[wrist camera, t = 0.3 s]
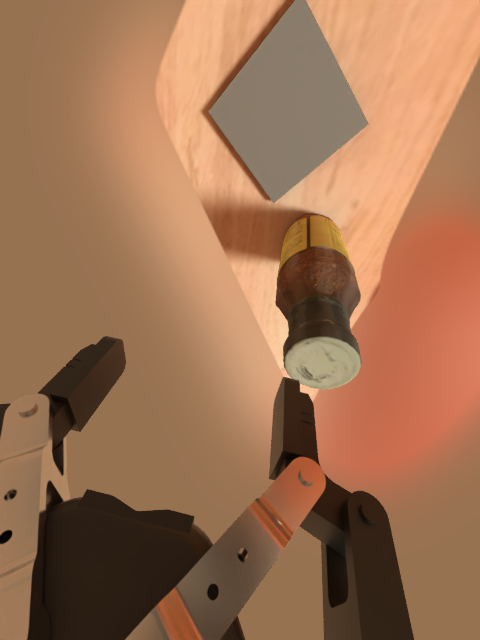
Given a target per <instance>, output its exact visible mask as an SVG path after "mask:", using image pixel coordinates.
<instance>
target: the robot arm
mask: <svg viewBox="0 0 480 640" xmlns="http://www.w3.org/2000/svg"><path fill="white" fill-rule="evenodd" d="M125 365H126V359H125V352H124V346H123V341H122V340H121V339H117V338H112V337H108V336H105V337H103V338H102V339H101V340H100V341H99V342H98V343H97V344H96V345H93V344H91V345H89V346H88V347H86V348H84V349H82V350H80V351H79V352H78V353H77V354H76V355H75V356H74V357H73V359H72V360H70V361H69V362H68V363H67V364H66V367H63V368H62V369H61V370H60V372H58V373H57V374H56V375H55V376H54V377H53V378H52V379H51V380H50V381H49V382H48V383H47V384H46V385H45V386H44V387H43V389H41V390H40V391H39V392H38V393H37V394H30V395H26V396H24V397H21V398H19V399H18V400H16V401H14V402H13V403H12V404H0V640H245V637H244V634H243V631H242V628H241V625H240V622H239V619H238V614H239V612H240V611H241V609H242V608H243V607H244V605H245V603H246V602H247V601H248V599H249V598H250V597H251V595H252V594H253V592H254V591H255V590H256V588H257V587H258V585H259V584H260V582H261V581H262V580H263V578H264V577H265V575H266V574H267V572H268V571H269V569H270V568H271V567H272V565H273V564H274V563H275V561H276V560H277V558H278V557H279V555H280V554H281V552H282V551H283V549H284V548H285V547H286V545H287V544H288V542H289V541H290V539H291V537H292V536H293V534H294V533H295V531H296V530H297V529H298V527H299V526H300V527H302V528H303V529H304V530H306V531H307V532H309V533H310V534H312V535H313V536H314V537H316V538H317V539H319V540H320V541H321V549H322V584H323V615H324V616H323V618H324V640H414V637H413V633H412V628H411V623H410V618H409V614H408V609H407V604H406V599H405V595H404V590H403V585H402V580H401V576H400V571H399V566H398V562H397V557H396V552H395V548H394V542H393V538H392V533H391V528H390V523H389V519H388V516H387V513H386V511H385V510H384V507H383V506H382V505H381V503H380V502H379V501H378V500H377V499H376V498H375V497H374V496H372V495H371V494H369V493H367V492H364V491H356V492H354V493H350V492H349V491H347V490H345V489H344V488H342V487H340V486H339V485H337V484H335V483H334V482H332V481H331V480H330V479H329V478H328V477H327V476H326V475H325V473H324V472H323V470H322V469H321V467H320V464H319V461H318V453H317V441H316V430H315V419H314V418H315V417H314V406H313V403H312V401H311V399H310V397H309V395H308V394H306V393H301V392H300V383H299V380H295V379H291V378H286V377H283V379H282V381H281V384H280V387H279V389H278V392H277V395H276V398H275V402H274V409H273V426H272V440H271V456H270V457H271V458H270V472H269V479H272V480H275V481H274V482H273V483H272V484H271V485H270V486H269V488H268V489H267V490H266V491H265V492H264V493H263V494H262V495H261V496H260V498H258V499H256V500H254V501H253V502H252V503H251V504H250V505H249V506H248V507H247V509H246V510H245V511H244V512H243V513H242V514H241V515H240V516H239V517H238V518H237V520H236V521H235V522H234V523H233V524H232V525H231V526H230V527H229V528H228V529H227V531H226V532H225V533H224V534H223V535H222V536H221V537H220V538H219V540H217V542H216V543H215V544H214V545H213V544H212V542H211V540H210V539H209V537H208V536H207V535H206V534H205V532H204V531H202V530H201V529H200V528H199V527H198V526H196V525H195V524H193V523H194V516H190V515H187V514H183V513H179V512H175V511H171V510H153V511H135V510H133V509H132V508H131V507H129V506H128V505H126V504H125V503H123V502H122V501H120V500H119V499H117V498H115V497H114V496H111V495H108V494H104V493H100V492H96V491H92V490H88V489H87V491H86V492H85V494H84V496H83V497H79V498H74V499H70V493H69V488H68V483H67V456H66V435H67V434H68V432H69V431H70V430H75V431H79V432H80V431H81V430H82V429H83V427H84V426H85V424H86V423H87V422H88V420H89V419H90V417H91V416H92V415H93V413H94V412H95V411H96V409H97V408H98V406H99V405H100V404H101V402H102V401H103V400H104V398H105V397H106V395H107V394H108V393H109V391H110V390H111V388H112V387H113V386H114V384H115V383H116V381H117V380H118V379H119V377H120V376H121V375H122V373H123V371H124V369H125Z"/></svg>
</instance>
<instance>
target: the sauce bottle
mask: <svg viewBox="0 0 480 640" xmlns="http://www.w3.org/2000/svg"><path fill="white" fill-rule="evenodd" d="M360 296H361V294H360V291H359V287H358V284H357V280H356V277H355V271H354V268H353V265H352V262H351V260H350V257H349V254H348V252H347V249H346V246H345V243H344V240H343V237H342V234H341V231H340V229H339V228H338V227H337V225H336V224H335V223H333V221H332V220H331V219H330V218H328V217H325V216H322V215H305V216H303V217H301V218H299V219H298V220H296V221H295V222H294V223H293V224H292V225H291V227H289V229H288V231H287V233H286V235H285V238H284V241H283V247H282V253H281V259H280V265H279V271H278V277H277V291H276V306H277V307H278V308H279V309H280V310H281V312H282V313H283V315H284V316H285V318H286V319H287V321H288V326H289V332H288V333H289V336H288V338H287V339H286V341H285V343H284V346H283V352H284V353H283V355H284V360H283V361H284V367H285V369H286V371H287V373H288V374H289V376H290V377H291V378H292V379H295V380H299V383H301V384H303V385H306V386H309V387H311V388H317V389H333V388H337V387H339V386H342V385H344V384H346V383H348V382H349V381H350V380H352V379H353V378H354V377H355V376H356V375H357V374H358V372H359V369H360V366H361V357H360V351H359V346H358V343H357V341H356V338H355V337H354V336H353V335H352V334H351V330H350V322H349V319H350V317H351V315H352V313H353V311H354V309H355V308H356V306H357V305H358V303H359V301H360Z"/></svg>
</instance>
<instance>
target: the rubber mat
mask: <svg viewBox="0 0 480 640" xmlns="http://www.w3.org/2000/svg"><path fill="white" fill-rule="evenodd" d="M208 113H209V114H210V115H211V117H212V118H213V120H214V121H215V122H216V124H217V125H218V127H219V128H220V129H221V131H222V132H223V134H224V135H225V136H226V138H227V139H228V140H229V142H230V143H231V145H232V146H233V147H234V149H235V150H236V152H237V153H238V154H239V156H240V157H241V159H242V160H243V161H244V163H245V164H246V166H247V167H248V168H249V170H250V171H251V173H252V174H253V175H254V177H255V178H256V179H257V181H258V182H259V184H260V185H261V186H262V188H263V189H264V191H265V192H266V193H267V195H268V196H269V198H270V199H271V200H272V202H273V203H275V202H276V201H277V200H278V199H279V198H281V197H282V196H283V195H284V194H285V193H287V192H288V191H289V190H290V189H291V188H293V187H294V186H295V185H296V184H297V183H299V182H300V181H301V180H302V179H303V178H305V177H306V176H307V175H308V174H309V173H311V172H312V171H313V170H314V169H315V168H317V167H318V166H319V165H320V164H321V163H323V162H324V161H325V160H326V159H327V158H329V157H330V156H331V155H332V154H333V153H335V152H336V151H337V150H338V149H339V148H341V147H342V146H343V145H344V144H345V143H347V142H348V141H349V140H350V139H351V138H353V137H354V136H355V135H356V134H357V133H359V132H360V131H361V130H362V129H363V128H365V127H366V126H367V125H368V122H367V120H366V118H365V116H364V114H363V112H362V110H361V108H360V106H359V104H358V102H357V100H356V98H355V96H354V94H353V92H352V90H351V88H350V86H349V84H348V82H347V80H346V79H345V77H344V75H343V73H342V71H341V69H340V67H339V65H338V63H337V61H336V59H335V57H334V55H333V53H332V51H331V49H330V47H329V45H328V43H327V41H326V39H325V37H324V35H323V33H322V31H321V29H320V27H319V25H318V24H317V22H316V20H315V18H314V16H313V14H312V12H311V10H310V8H309V6H308V4H307V2H306V0H295V1H294V2H293V3H292V5H291V6H290V7H289V8H288V10H287V11H286V12H285V14H284V15H283V16H282V17H281V19H280V20H279V21H278V23H277V24H276V25H275V26H274V28H273V29H272V30H271V32H270V33H269V34H268V35H267V37H266V38H265V39H264V41H263V42H262V43H261V45H260V46H259V47H258V48H257V50H256V51H255V52H254V54H253V55H252V56H251V57H250V59H249V60H248V61H247V63H246V64H245V65H244V66H243V68H242V69H241V70H240V72H239V73H238V74H237V75H236V77H235V78H234V79H233V81H232V82H231V83H230V84H229V86H228V87H227V88H226V90H225V91H224V92H223V93H222V95H221V96H220V97H219V99H218V100H217V101H216V102H215V104H214V105H213V106H212V108H211V109H210V110H209V111H208Z"/></svg>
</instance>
